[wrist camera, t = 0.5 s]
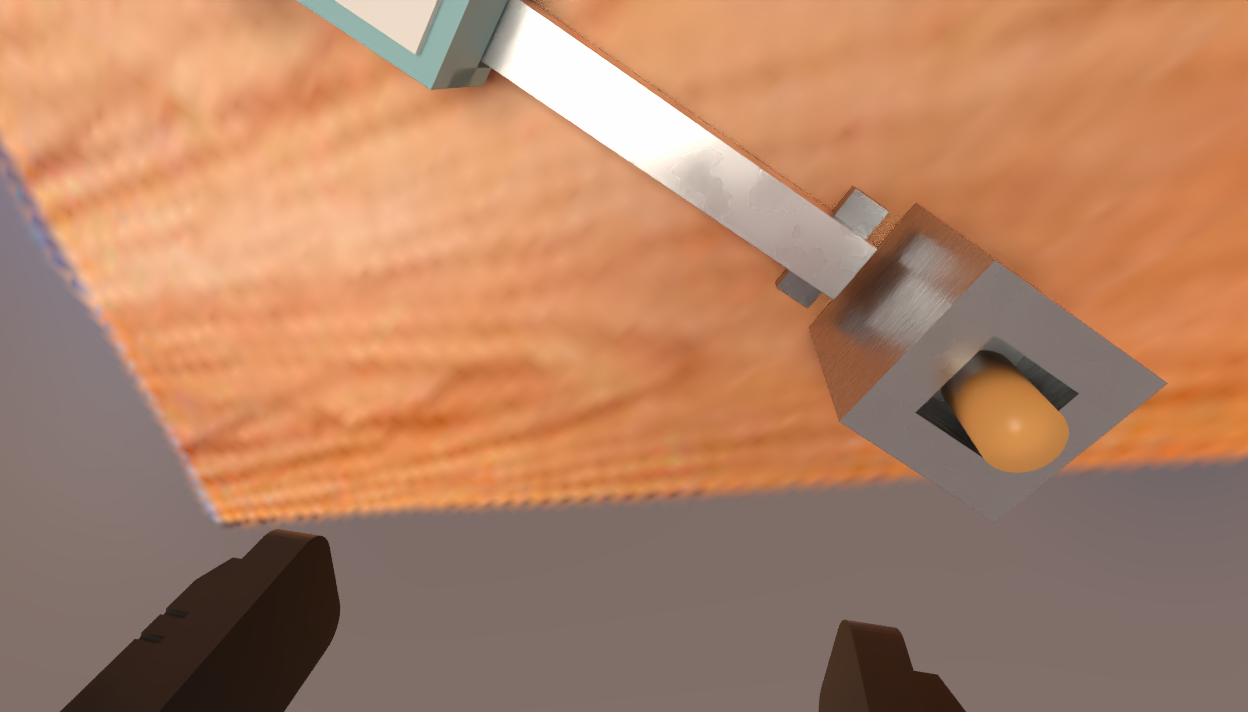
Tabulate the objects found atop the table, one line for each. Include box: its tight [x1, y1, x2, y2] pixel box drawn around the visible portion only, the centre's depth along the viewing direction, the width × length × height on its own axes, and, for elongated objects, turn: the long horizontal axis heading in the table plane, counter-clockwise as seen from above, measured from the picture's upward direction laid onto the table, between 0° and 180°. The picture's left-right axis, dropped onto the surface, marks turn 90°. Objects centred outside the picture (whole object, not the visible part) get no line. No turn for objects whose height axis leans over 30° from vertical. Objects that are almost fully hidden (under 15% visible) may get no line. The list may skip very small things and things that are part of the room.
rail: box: [481, 0, 889, 308], centre depth 29 cm, size 6×30×3 cm, turn 58°
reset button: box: [941, 350, 1069, 473], centre depth 23 cm, size 3×3×4 cm
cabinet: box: [809, 203, 1168, 523], centre depth 28 cm, size 9×8×10 cm
